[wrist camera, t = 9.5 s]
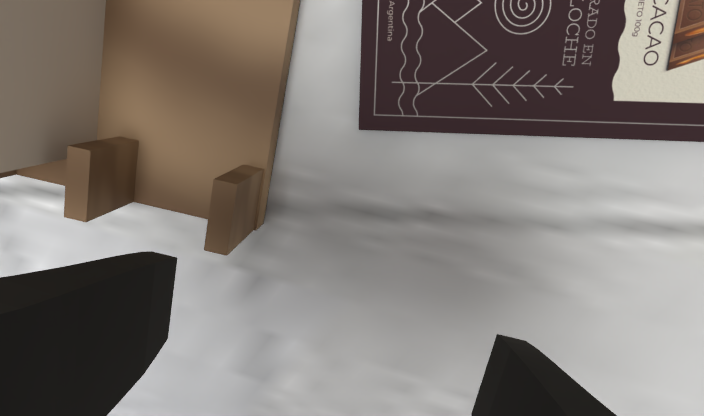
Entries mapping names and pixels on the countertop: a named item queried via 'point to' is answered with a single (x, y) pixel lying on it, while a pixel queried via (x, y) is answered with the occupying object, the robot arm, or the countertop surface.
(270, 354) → the countertop surface
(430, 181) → the countertop surface
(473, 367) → the countertop surface
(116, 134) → the pegged wooden tray
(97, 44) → the clay slab
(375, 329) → the countertop surface
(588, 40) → the chocolate bar
